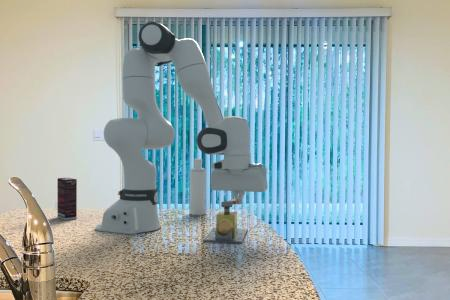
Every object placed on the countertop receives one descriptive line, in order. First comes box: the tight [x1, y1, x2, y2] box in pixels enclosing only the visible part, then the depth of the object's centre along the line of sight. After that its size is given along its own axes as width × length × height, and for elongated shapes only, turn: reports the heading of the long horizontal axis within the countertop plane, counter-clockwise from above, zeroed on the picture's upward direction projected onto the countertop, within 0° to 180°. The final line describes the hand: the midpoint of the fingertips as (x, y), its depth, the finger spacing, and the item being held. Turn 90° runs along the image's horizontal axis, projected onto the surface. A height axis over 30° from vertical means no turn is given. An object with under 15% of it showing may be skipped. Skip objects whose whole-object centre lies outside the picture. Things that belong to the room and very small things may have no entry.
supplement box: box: [56, 177, 78, 221], centre depth 154 cm, size 9×5×16 cm, turn 43°
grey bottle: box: [189, 158, 207, 216], centre depth 165 cm, size 7×7×25 cm
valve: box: [202, 207, 248, 245], centre depth 127 cm, size 12×17×10 cm
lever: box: [220, 198, 237, 208], centre depth 130 cm, size 11×4×1 cm, turn 155°
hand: (239, 204), depth 132 cm, fingers closed, pressing on lever
